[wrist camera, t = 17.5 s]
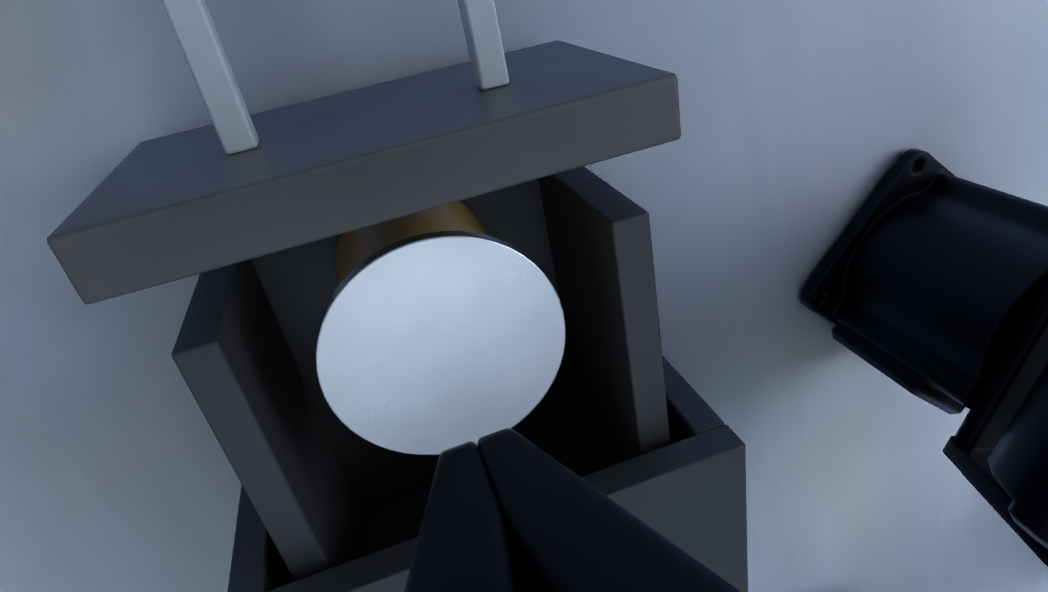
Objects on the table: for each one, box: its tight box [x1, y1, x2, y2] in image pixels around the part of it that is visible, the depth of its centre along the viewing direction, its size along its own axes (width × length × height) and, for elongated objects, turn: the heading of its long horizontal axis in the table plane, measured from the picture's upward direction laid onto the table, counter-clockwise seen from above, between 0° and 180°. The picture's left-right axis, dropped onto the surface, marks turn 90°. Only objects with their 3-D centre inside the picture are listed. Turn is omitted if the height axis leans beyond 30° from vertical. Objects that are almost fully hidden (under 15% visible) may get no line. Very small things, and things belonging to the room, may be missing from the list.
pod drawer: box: [47, 0, 681, 581], centre depth 15 cm, size 17×10×6 cm, turn 10°
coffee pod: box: [315, 201, 566, 455], centre depth 15 cm, size 5×5×5 cm
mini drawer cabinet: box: [228, 355, 748, 592], centre depth 20 cm, size 14×12×8 cm
